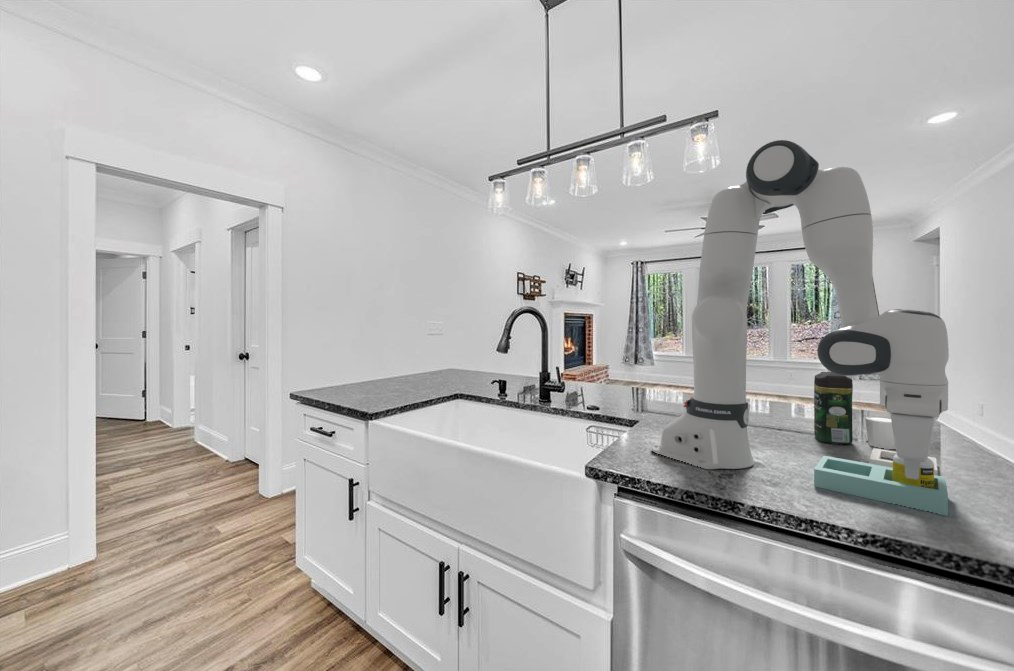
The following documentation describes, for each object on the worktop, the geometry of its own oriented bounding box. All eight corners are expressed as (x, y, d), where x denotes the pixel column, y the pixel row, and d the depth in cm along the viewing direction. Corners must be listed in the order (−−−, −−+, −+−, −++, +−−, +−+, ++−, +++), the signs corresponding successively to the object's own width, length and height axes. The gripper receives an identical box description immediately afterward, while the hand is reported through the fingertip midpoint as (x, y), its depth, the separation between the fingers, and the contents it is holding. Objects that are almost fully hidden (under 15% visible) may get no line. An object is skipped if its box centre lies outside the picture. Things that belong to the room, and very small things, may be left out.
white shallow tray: (869, 465, 92) (869, 458, 92) (873, 454, 99) (873, 448, 99) (937, 477, 84) (937, 470, 84) (935, 464, 91) (936, 457, 91)
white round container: (908, 451, 101) (909, 423, 101) (876, 449, 102) (876, 422, 102) (888, 442, 108) (889, 416, 107) (858, 441, 109) (859, 415, 109)
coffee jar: (811, 434, 117) (811, 369, 116) (846, 437, 113) (847, 370, 112) (817, 443, 108) (818, 373, 108) (856, 447, 104) (856, 375, 104)
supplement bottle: (925, 506, 71) (925, 451, 71) (886, 495, 76) (886, 443, 76) (940, 500, 74) (940, 447, 73) (901, 490, 78) (901, 439, 78)
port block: (814, 486, 81) (814, 468, 81) (823, 471, 89) (823, 454, 88) (947, 516, 68) (947, 494, 68) (944, 495, 76) (945, 475, 76)
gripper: (891, 388, 84) (891, 455, 84) (886, 404, 70) (885, 484, 70) (936, 391, 79) (935, 461, 80) (939, 409, 65) (939, 494, 66)
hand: (912, 472), depth 75 cm, fingers closed on supplement bottle, 5 cm apart
